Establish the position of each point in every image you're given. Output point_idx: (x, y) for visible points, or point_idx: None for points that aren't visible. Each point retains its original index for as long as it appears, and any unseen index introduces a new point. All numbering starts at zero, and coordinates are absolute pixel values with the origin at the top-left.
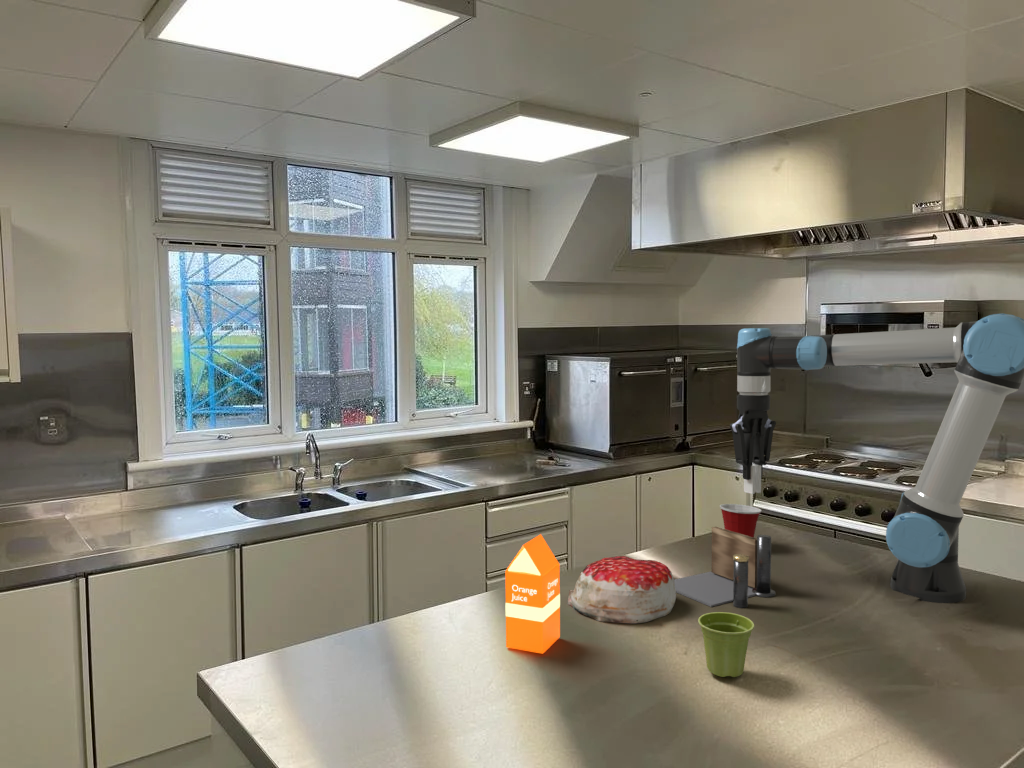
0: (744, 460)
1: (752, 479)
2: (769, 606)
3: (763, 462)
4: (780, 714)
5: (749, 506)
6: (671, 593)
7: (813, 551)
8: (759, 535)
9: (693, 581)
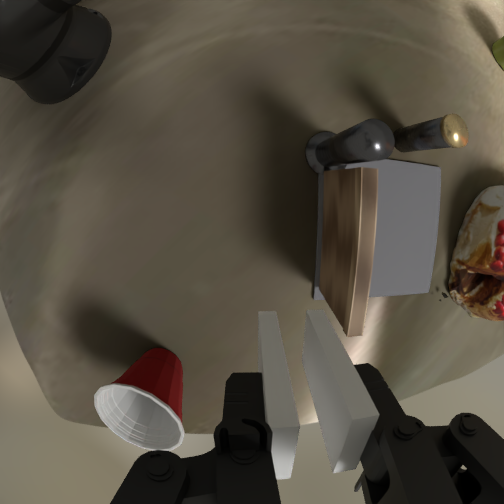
0: (480, 432)
1: (345, 354)
2: (366, 107)
3: (243, 446)
4: (492, 5)
5: (104, 419)
6: (501, 189)
7: (52, 287)
8: (379, 156)
9: (385, 270)
